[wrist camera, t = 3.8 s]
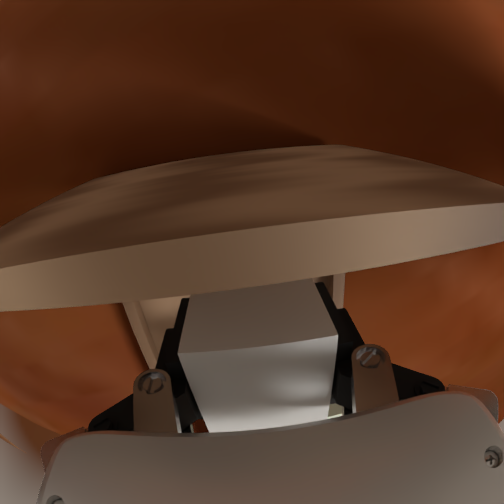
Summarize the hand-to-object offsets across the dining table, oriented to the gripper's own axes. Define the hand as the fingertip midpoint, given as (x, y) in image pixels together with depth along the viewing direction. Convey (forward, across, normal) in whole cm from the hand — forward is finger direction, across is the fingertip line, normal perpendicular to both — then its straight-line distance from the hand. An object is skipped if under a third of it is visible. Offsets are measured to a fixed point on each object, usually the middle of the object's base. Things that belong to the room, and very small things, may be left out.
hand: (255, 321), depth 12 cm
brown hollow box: (+7, +1, +3) cm, 8 cm away
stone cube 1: (0, 0, 0) cm, 0 cm away
